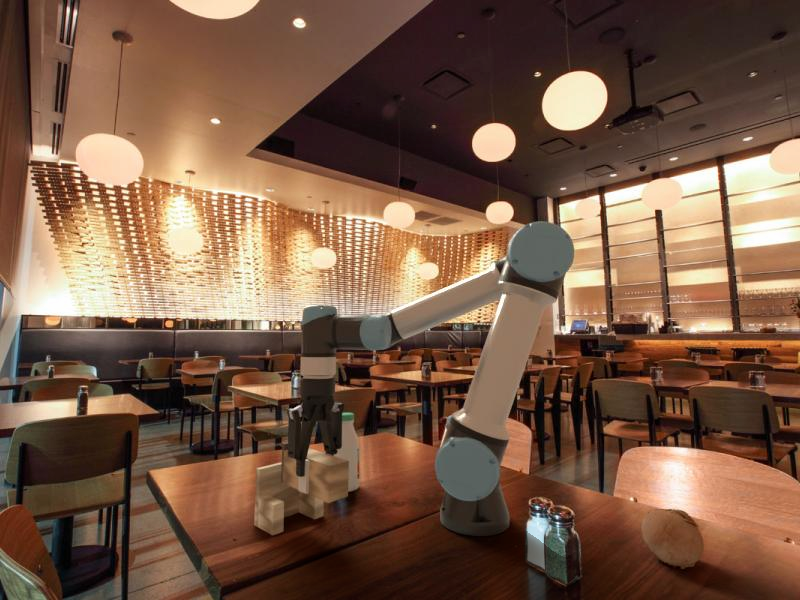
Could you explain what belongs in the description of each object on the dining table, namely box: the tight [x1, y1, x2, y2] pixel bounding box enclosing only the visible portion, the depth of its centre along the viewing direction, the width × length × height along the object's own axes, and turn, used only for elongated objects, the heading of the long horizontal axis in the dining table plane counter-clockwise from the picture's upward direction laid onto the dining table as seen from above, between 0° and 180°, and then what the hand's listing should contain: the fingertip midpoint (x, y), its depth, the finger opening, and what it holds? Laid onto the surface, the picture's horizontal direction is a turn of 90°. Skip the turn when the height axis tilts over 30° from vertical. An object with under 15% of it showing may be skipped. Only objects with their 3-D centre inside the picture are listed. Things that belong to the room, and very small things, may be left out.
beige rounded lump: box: [640, 508, 705, 570], centre depth 75 cm, size 10×9×10 cm
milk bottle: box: [334, 412, 360, 493], centre depth 115 cm, size 8×8×20 cm
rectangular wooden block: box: [281, 441, 349, 504], centre depth 89 cm, size 17×5×8 cm, turn 48°
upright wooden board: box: [253, 461, 325, 536], centre depth 94 cm, size 8×13×12 cm, turn 138°
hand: (314, 487), depth 88 cm, fingers closed on rectangular wooden block, 5 cm apart
